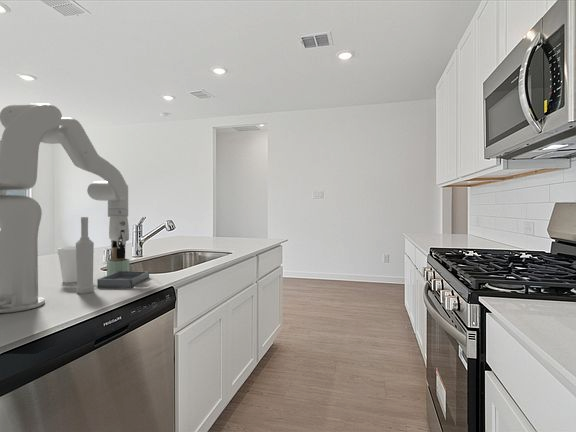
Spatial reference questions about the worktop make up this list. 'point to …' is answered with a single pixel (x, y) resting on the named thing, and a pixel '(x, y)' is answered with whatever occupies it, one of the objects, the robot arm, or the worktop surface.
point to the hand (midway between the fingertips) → (118, 256)
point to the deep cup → (117, 266)
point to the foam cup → (68, 263)
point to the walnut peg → (115, 255)
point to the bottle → (84, 260)
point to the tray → (122, 279)
